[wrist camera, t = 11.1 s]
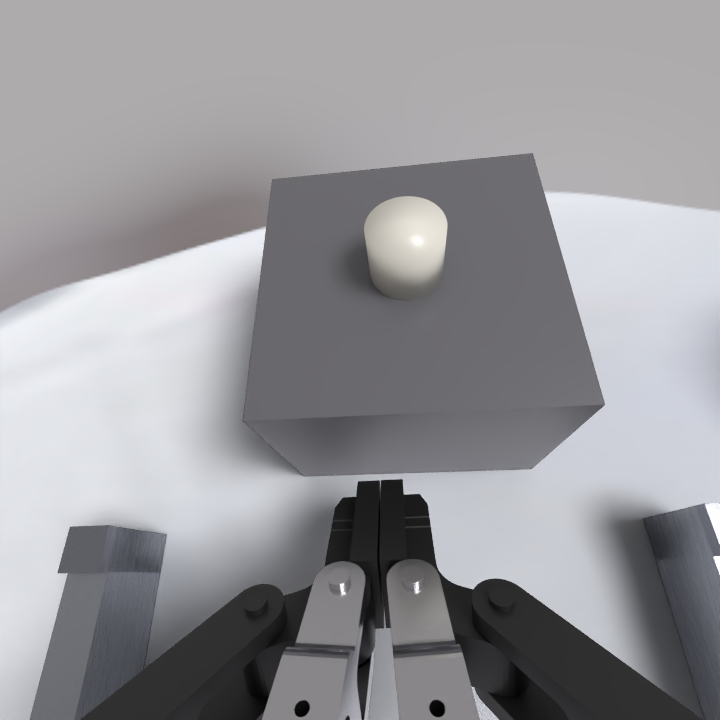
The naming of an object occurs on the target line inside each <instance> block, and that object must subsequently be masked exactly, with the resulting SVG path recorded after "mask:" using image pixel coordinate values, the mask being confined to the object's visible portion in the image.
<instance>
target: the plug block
mask: <svg viewBox="0 0 720 720" xmlns="http://www.w3.org/2000/svg"><path fill="white" fill-rule="evenodd" d="M604 405H605V403H604V399H603V396H602V392H601V389H600V385H599V382H598V378H597V375H596V371H595V368H594V364H593V361H592V357H591V354H590V351H589V347H588V344H587V340H586V337H585V333H584V330H583V326H582V323H581V319H580V316H579V312H578V309H577V305H576V302H575V298H574V295H573V291H572V288H571V284H570V281H569V278H568V274H567V271H566V267H565V264H564V260H563V257H562V253H561V250H560V246H559V243H558V239H557V236H556V232H555V229H554V225H553V222H552V218H551V215H550V212H549V208H548V205H547V201H546V198H545V194H544V191H543V187H542V184H541V180H540V177H539V174H538V170H537V167H536V163H535V159H534V156H533V153H530V154H520V155H510V156H500V157H490V158H480V159H471V160H460V161H450V162H440V163H431V164H421V165H411V166H402V167H401V166H400V167H391V168H381V169H371V170H360V171H351V172H341V173H331V174H321V175H311V176H301V177H291V178H281V179H273V180H272V185H271V193H270V201H269V210H268V218H267V226H266V234H265V242H264V250H263V259H262V267H261V275H260V283H259V292H258V300H257V308H256V316H255V324H254V333H253V341H252V349H251V357H250V366H249V374H248V382H247V390H246V398H245V407H244V415H243V422H244V423H246V424H247V425H248V426H249V427H250V428H251V429H252V430H253V431H254V432H256V433H257V434H258V435H259V436H260V437H261V438H262V439H263V440H264V441H266V442H267V443H268V444H269V445H270V446H271V447H272V448H273V449H274V450H276V451H277V452H278V453H279V454H280V455H281V456H282V457H283V458H285V459H286V460H287V461H288V462H289V463H290V464H291V465H292V466H293V467H295V468H296V469H297V470H298V471H299V472H300V473H301V474H302V475H303V476H332V475H363V474H393V473H424V472H455V471H486V470H517V469H532V468H533V467H534V466H536V465H537V464H538V463H539V462H540V461H541V460H542V459H544V458H545V457H546V456H547V455H548V454H549V453H550V452H552V451H553V450H554V449H555V448H556V447H557V446H558V445H560V444H561V443H562V442H563V441H564V440H565V439H566V438H568V437H569V436H570V435H571V434H572V433H573V432H574V431H576V430H577V429H578V428H579V427H580V426H581V425H582V424H584V423H585V422H586V421H587V420H588V419H589V418H590V417H591V416H593V415H594V414H595V413H596V412H597V411H598V410H599V409H601V408H602V407H603V406H604Z"/></svg>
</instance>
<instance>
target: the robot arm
mask: <svg viewBox="0 0 720 720" xmlns="http://www.w3.org/2000/svg"><path fill="white" fill-rule="evenodd" d="M384 610H385V620H386V628H391V634H392V645H393V656H394V667H395V678H396V688H397V699H398V710H399V720H480V719H479V715H478V711H477V707H476V703H475V699H474V696H473V692H472V688H471V686H472V687H474V688H475V691H476V693H477V695H478V696H479V698H480V699H481V700H482V702H483V703H484V704H485V705H486V706H487V707H488V708H489V709H490V710H491V711H492V712H493V713H494V714H495V715H496V717H497V718H498V719H499V720H702V719H701V718H699V717H698V716H697V715H695V714H694V713H693V712H691V711H690V710H688V709H687V708H686V707H684V706H683V705H682V704H680V703H679V702H677V701H676V700H675V699H673V698H672V697H671V696H669V695H668V694H666V693H665V692H664V691H662V690H661V689H660V688H658V687H657V686H655V685H654V684H653V683H651V682H650V681H649V680H647V679H646V678H644V677H643V676H642V675H640V674H639V673H637V672H636V671H635V670H633V669H632V668H631V667H629V666H628V665H626V664H625V663H624V662H622V661H621V660H620V659H618V658H617V657H615V656H614V655H613V654H611V653H610V652H609V651H607V650H606V649H604V648H603V647H602V646H600V645H599V644H598V643H596V642H595V641H593V640H592V639H591V638H589V637H588V636H587V635H585V634H584V633H582V632H581V631H580V630H578V629H577V628H576V627H574V626H573V625H571V624H570V623H569V622H567V621H566V620H565V619H563V618H562V617H560V616H559V615H558V614H556V613H555V612H554V611H552V610H551V609H549V608H548V607H547V606H545V605H544V604H543V603H541V602H540V601H538V600H537V599H536V598H534V597H533V596H531V595H530V594H529V593H527V592H526V591H525V590H523V589H522V588H520V587H519V586H517V585H516V584H514V583H512V582H510V581H507V580H503V579H488V580H485V581H482V582H481V583H479V584H478V585H477V586H476V587H475V588H474V590H473V589H469V588H465V587H461V586H458V585H456V584H453V583H451V582H450V581H448V580H447V579H446V578H444V577H443V576H442V574H441V573H440V572H439V570H438V568H437V565H436V560H435V553H434V546H433V540H432V533H431V526H430V519H429V512H428V505H427V503H426V502H425V500H424V499H423V498H422V497H421V495H420V494H411V495H404V493H403V480H402V479H399V480H381V487H380V481H359V482H358V486H357V495H356V497H347V498H342V500H341V501H340V502H339V504H338V505H337V506H336V507H335V511H334V517H333V523H332V528H331V534H330V539H329V545H328V550H327V556H326V562H325V567H324V568H322V569H321V570H320V571H319V572H318V573H317V575H316V577H315V579H314V582H313V584H312V585H311V586H309V587H307V588H305V589H303V590H301V591H298V592H295V593H291V594H288V595H285V596H283V594H282V592H281V591H280V590H279V589H278V588H277V587H275V586H273V585H269V584H260V585H256V586H253V587H250V588H248V589H246V590H244V591H243V592H242V593H240V594H239V595H238V596H236V597H235V598H234V599H233V600H231V601H230V602H229V603H228V604H226V605H225V606H224V607H222V608H221V609H220V610H219V611H217V612H216V613H215V614H214V615H212V616H211V617H210V618H209V619H207V620H206V621H205V622H203V623H202V624H201V625H200V626H198V627H197V628H196V629H195V630H193V631H192V632H191V633H189V634H188V635H187V636H186V637H184V638H183V639H182V640H181V641H179V642H178V643H177V644H175V645H174V646H173V647H172V648H170V649H169V650H168V651H167V652H165V653H164V654H163V655H161V656H160V657H159V658H158V659H156V660H155V661H154V662H153V663H151V664H150V665H149V666H148V667H146V668H145V669H144V670H142V671H141V672H140V673H139V674H137V675H136V676H135V677H134V678H132V679H131V680H130V681H128V682H127V683H126V684H125V685H123V686H122V687H121V688H120V689H118V690H117V691H116V692H114V693H113V694H112V695H111V696H109V697H108V698H107V699H106V700H104V701H103V702H102V703H101V704H99V705H98V706H97V707H95V708H94V709H93V710H92V711H90V712H89V713H88V714H87V715H85V716H84V717H83V718H81V719H80V720H368V714H369V704H370V695H371V685H372V675H373V666H374V647H375V628H384Z"/></svg>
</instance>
